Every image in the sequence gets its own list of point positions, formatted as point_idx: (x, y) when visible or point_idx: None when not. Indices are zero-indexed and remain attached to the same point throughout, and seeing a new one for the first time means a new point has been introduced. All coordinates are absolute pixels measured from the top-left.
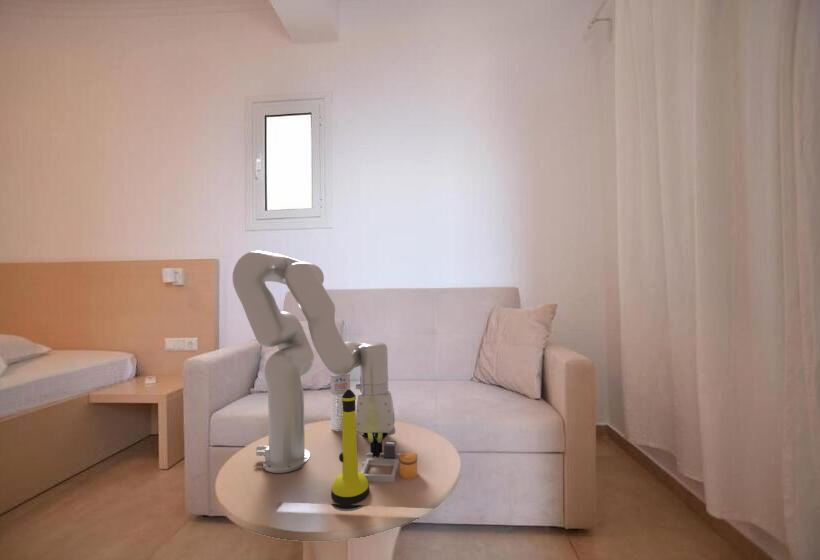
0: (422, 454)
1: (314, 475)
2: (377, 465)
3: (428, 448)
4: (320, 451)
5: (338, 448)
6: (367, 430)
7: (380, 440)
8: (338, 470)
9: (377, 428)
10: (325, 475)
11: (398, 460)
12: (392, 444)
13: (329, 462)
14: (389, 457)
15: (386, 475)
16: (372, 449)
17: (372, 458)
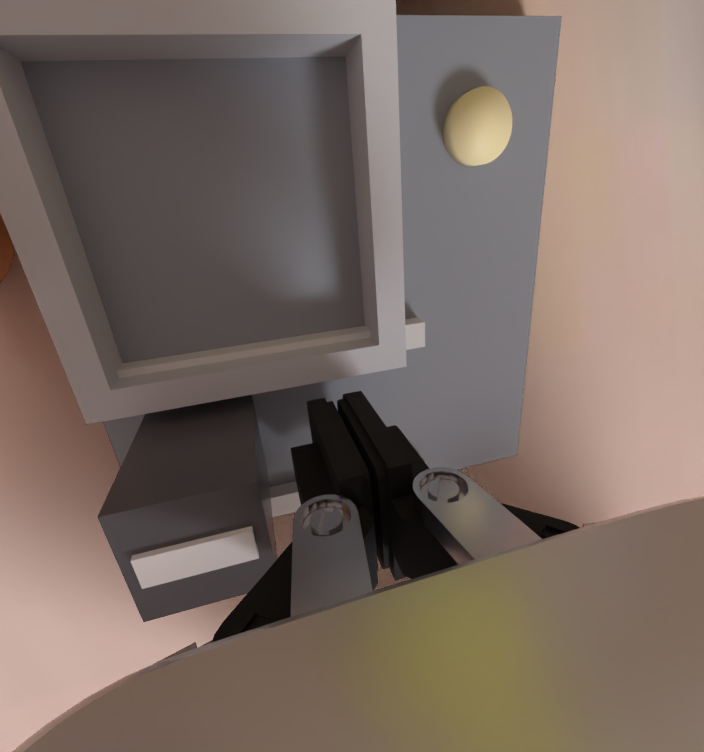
0: (17, 621)
1: (700, 173)
2: (293, 336)
3: (13, 697)
4: (679, 450)
5: (594, 505)
6: (628, 551)
7: (313, 523)
8: (563, 268)
9: (421, 691)
10: (636, 184)
11: (87, 412)
12: (154, 543)
13: (626, 352)
14: (196, 425)
15: (44, 4)
16: (383, 423)
17: (356, 373)
